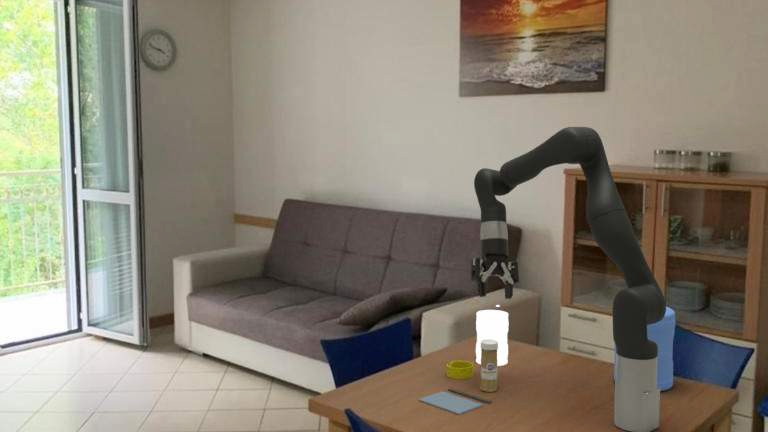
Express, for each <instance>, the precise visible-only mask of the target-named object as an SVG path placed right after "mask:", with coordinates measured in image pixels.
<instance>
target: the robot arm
mask: <svg viewBox="0 0 768 432" xmlns="http://www.w3.org/2000/svg"><path fill="white" fill-rule="evenodd" d="M565 164H569V165H579V166H580V168H581V170H582V172H583V173H582V174H583V175H584V177H585V180H586V185H587V186H586V187H587V197H586V206H585V214H586V220H587V223H588V226H589V229H590V231H591V234H592V236H593V238H594V241H595V243H596V244H597V245H598V247H599V248H600V249H601V251H602V252H603V253H604V254H605V255H606V256H607V257H608V258H609V259H610V260H611V261H612V262H613V264H614V265H615V266H616V267H617V268H618V270H619V271H620V273H621V275H622V276H623V279H624V282H625V283H626V287H627V288H623V289H621V290H619V291H618V292H617V293H616V294H615V296H614V299H613V302H612V336H613V337H612V338H613V342H614V345H616V375H615V381H614V382H615V383H614V384H615V385H614V413H613V415H614V416H613V418H614V421H613V423H614V426H616V427H617V428H619V429H620V430H621V429H622V430H623V431H628V432H652V431H654V430H656V429H659V428H660V406H661V405H660V404H661V403H660V402H661V400H660V398H661V391H660V388H659V387H657V359H658V346H657V344H656V343H655V342H653V341H651V340H648V337H647V325H650V324H654V323H657V322H659V321H661V320H662V319H663V318H664V316H665V313H666V306H667V303H666V298H665V296H664V294H663V291H662V289H661V288H660V286H659V284H658V282H657V280H656V278H655V275H654V273H653V272H652V270H651V267H650V266H649V265H648V262H647V260H646V258H645V255H644V253H643V251H642V248H641V246H640V244H639V242H638V239H637V236H636V234H635V231H634V229H633V226H632V223H631V220H630V218H629V215H628V212H627V211H626V207H625V205H624V204H623V201H622V198H621V196H620V194H619V190H618V189H617V185H616V183H615V181H614V177H613V175H612V172H611V168H610V165H609V162H608V158H607V155H606V151H605V148H604V144H603V141H602V139H601V136H600V135H599V133H598V132H597V130H595V129H593V128H592V127H587V126H567V127H564V128H562V129H560V130H558V131H557V132H556V133H554V134H553V135H551V136H550V137H549V138H548V139H546V140H545V141H544V142H542V143H541V144H539V145H537V146H536V147H534V148H533V149H531V150H530V151H527V152H525V153H524V154H522V155H519V156H517V157H515V158H513V159H510V160H509V161H507V162H505V163H503V164H502V165H501V166H500V169H499V170H498V169H497V170H495V169H491V168H487V167H486V168H483V167H482V168H481V169H479V170H478V171H477V172H476V174H475V176H474V180H473V186H474V192H475V195H476V198H477V202H478V206H479V208H480V255H481V258H480V257H474V258H472V259H471V264H470V265H471V266H470V267H471V270H470V273H471V274H470V280H472V281H473V282H476V283H477V294H478V296H479V297H480V298H484V297H486V296H487V282H486V280H487V279H488V278H489V277H490V276H491V277H492V276H494V277H499V279H501V280H502V282H503V283H504V299H505V300H509V299H512V297H513V295H514V291H513V290H514V289H513V287H514V285H515V284H518V283H519V282H520V278H519V267H518V261H517V260H515V261H509V260H508V257H509V237H508V236H509V235H508V227H507V226H508V225H507V208H506V205H505V204H504V203H503V202H501V201H500V200H498V199H497V198H496V196H497V197H499V196H500V197H502V196H505V195H508V194H509V193H510V192H512V191H513V190H514V189H515V188H516V187H517V186H519V185H522V184H524V183H526V182H529V181H530V180H533V179H534V178H536V177H538V176H539V174H541V173H542V171H544V170H546V169H547V168H550V167H553V166H558V165H565ZM481 267H482V270H481Z"/></svg>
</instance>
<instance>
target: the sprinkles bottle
mask: <svg viewBox="0 0 768 432" xmlns="http://www.w3.org/2000/svg"><path fill="white" fill-rule="evenodd" d="M497 349H498V342H497V341H495V340H482V341H481V364H480V388H479V389H480V390H481V391H483V392H486V393H489V392H490V393H494V392H496V391H497V390H498V386H497V385H498V384H497V382H498V381H497V380H498V366H497Z"/></svg>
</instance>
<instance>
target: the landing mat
mask: <svg viewBox="0 0 768 432" xmlns="http://www.w3.org/2000/svg"><path fill="white" fill-rule="evenodd" d="M418 401H419V402H422V403H424V404H427V405H430V406H431V407H436V408H438V409H442V410H443V411H447V412H449V413H450V412H451V413H453V414H456V415H457V416H458V415H459V416H460V415H463V414H466V413H468V412H470V411H473V410H475V409H478V408H479V409H480V408H481V407H483V403H479V402H476V401H472V400H470V399H467V398H464V397H461V396H457V395H456V394H455V395H454V394H451V393H449V392H446V391H443V390H441V391H439V392H436V393H432V394H431V395H427V396H424V397H421V398H418Z"/></svg>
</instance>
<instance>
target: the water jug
mask: <svg viewBox="0 0 768 432" xmlns="http://www.w3.org/2000/svg"><path fill="white" fill-rule="evenodd" d="M675 328H676V312H675V311H674V310H673V308H671V307H669V306H667V305H666V313H665V316H664V318H663V319H662V320H661V321H659V322H657V323H654V324H650V325H647V337H648V340H651V341H653V342H655V343H656V344H657V346H658V359H657V387H659V388H660V392H665V391H667V390H670V389H672V387H673V385H674V360H673V351H674V349H673V347H674V343H673V342H674V337H675V331H676V330H675ZM613 351H614V363H613V364H614V369H613V380H614V382H615V375H616V345H615V344H614V349H613Z"/></svg>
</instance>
